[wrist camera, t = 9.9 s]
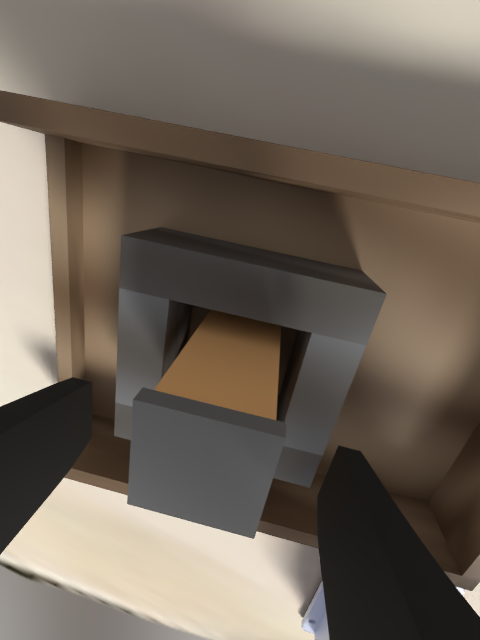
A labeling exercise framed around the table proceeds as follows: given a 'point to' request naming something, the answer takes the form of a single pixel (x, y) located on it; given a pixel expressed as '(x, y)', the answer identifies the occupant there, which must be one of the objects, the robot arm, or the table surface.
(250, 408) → the plug
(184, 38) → the table surface
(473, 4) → the table surface
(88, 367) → the brown wooden box
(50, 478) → the robot arm
